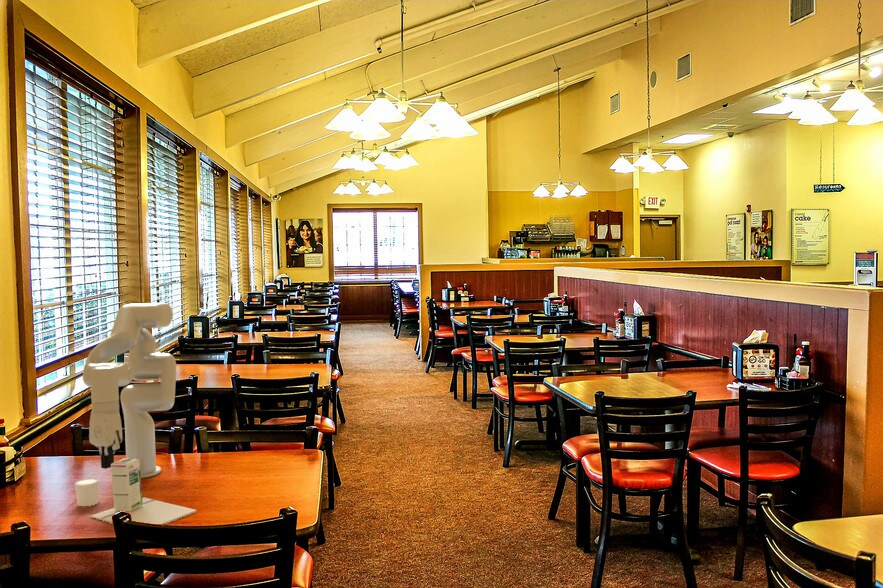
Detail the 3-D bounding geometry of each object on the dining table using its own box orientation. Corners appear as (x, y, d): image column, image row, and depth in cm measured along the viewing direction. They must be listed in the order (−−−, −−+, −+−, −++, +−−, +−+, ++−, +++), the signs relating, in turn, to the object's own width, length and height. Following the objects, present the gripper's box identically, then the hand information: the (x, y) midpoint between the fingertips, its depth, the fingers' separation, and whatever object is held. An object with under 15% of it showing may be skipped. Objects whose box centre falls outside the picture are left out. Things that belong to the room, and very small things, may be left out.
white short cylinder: (83, 509, 216) (82, 486, 215) (70, 505, 219) (69, 482, 219) (104, 502, 222) (103, 480, 221) (91, 498, 225) (90, 476, 225)
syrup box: (130, 511, 210) (127, 463, 210) (113, 511, 212) (110, 462, 211) (143, 505, 216) (140, 457, 215) (125, 504, 217) (123, 457, 217)
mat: (90, 517, 208) (90, 515, 208) (144, 499, 224) (143, 497, 224) (144, 532, 196) (143, 530, 196) (196, 511, 212) (196, 509, 212)
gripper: (78, 407, 217) (81, 467, 218) (109, 411, 209) (111, 473, 210) (101, 403, 224) (103, 461, 224) (132, 406, 216) (134, 467, 216)
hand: (107, 467), depth 217 cm, fingers closed
